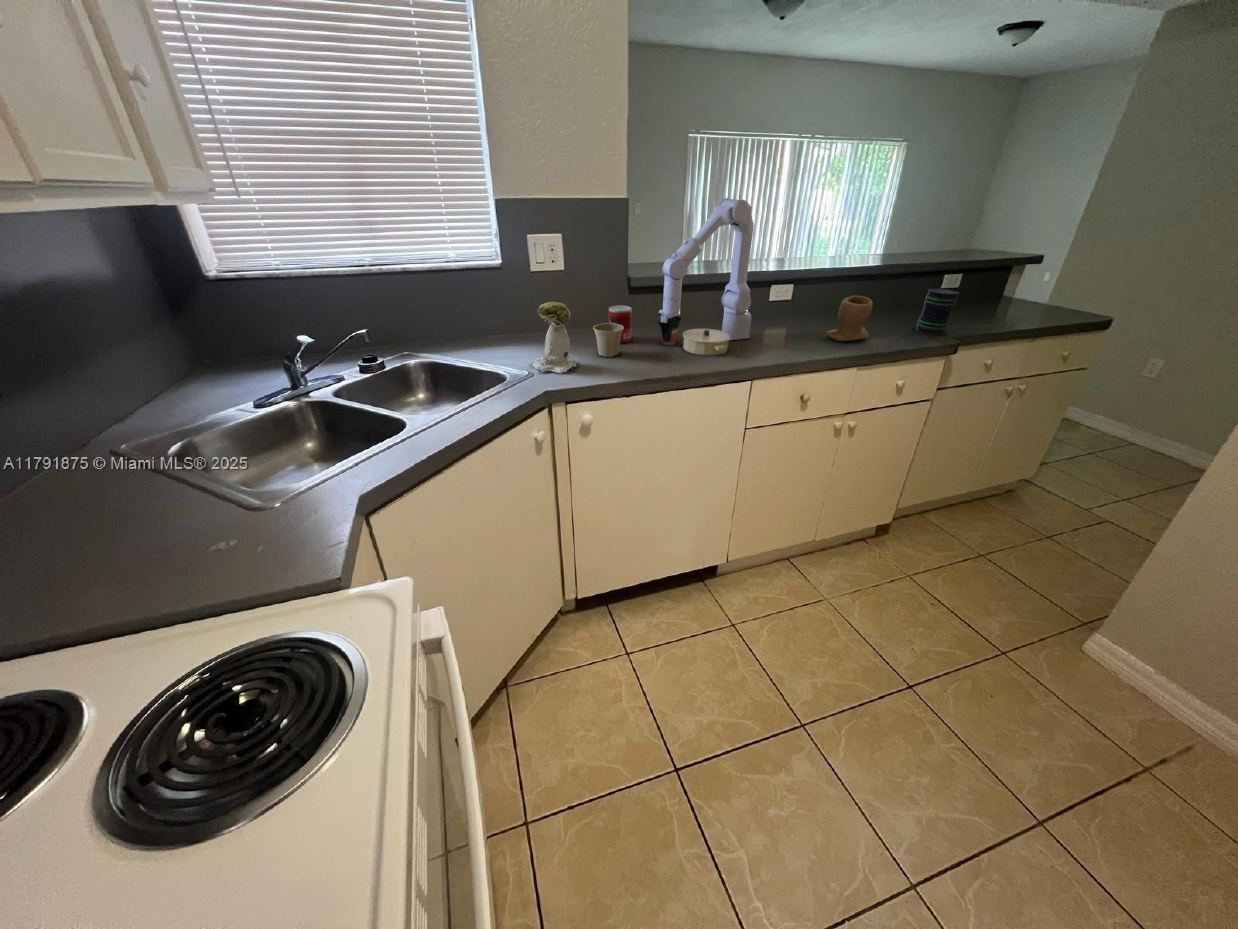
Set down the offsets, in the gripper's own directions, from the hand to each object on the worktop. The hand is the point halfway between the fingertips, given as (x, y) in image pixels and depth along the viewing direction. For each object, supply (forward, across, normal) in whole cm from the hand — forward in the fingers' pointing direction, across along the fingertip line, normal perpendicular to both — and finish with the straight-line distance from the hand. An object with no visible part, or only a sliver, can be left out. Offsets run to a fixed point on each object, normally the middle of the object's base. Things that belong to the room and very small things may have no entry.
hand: (669, 339), depth 165 cm
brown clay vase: (+2, -34, +57) cm, 66 cm away
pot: (+1, 0, +13) cm, 13 cm away
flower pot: (+2, +20, -13) cm, 25 cm away
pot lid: (-3, 0, +13) cm, 13 cm away
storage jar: (+2, -61, +85) cm, 104 cm away
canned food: (+2, +5, -16) cm, 17 cm away
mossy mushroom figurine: (+2, +38, -23) cm, 44 cm away
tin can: (+1, 0, 0) cm, 1 cm away
